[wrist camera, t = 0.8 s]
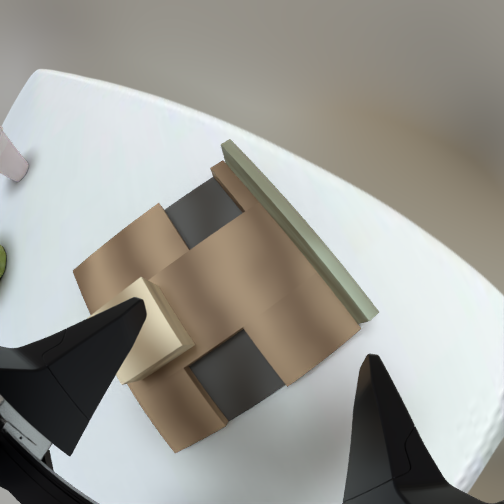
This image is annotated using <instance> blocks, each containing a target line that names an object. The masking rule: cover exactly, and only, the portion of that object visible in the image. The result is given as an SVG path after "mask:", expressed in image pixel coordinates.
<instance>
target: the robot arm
mask: <svg viewBox="0 0 504 504" xmlns="http://www.w3.org/2000/svg"><path fill="white" fill-rule="evenodd" d="M146 317H147V312H146V307H145V303H144V300H143V299H141V298H138V297H133V298H130V299H128V300H126V301H124V302H122V303H120V304H118V305H115V306H113V307H111V308H109V309H107V310H105V311H103V312H100V313H98V314H96V315H94V316H92V317H90V318H88V319H86V320H83V321H81V322H79V323H77V324H75V325H73V326H71V327H69V328H67V329H64V330H62V331H60V332H58V333H56V334H53V335H51V336H49V337H46V338H44V339H41V340H39V341H36V342H33V343H30V344H28V345H25V346H22V347H19V348H6V347H1V346H0V487H2V488H4V489H6V490H8V491H9V492H10V493H11V494H12V495H13V496H14V497H15V498H16V499H17V500H18V501H19V502H20V503H21V504H99V503H97V502H95V501H94V500H92V499H91V498H89V497H88V496H86V495H85V494H83V493H82V492H81V491H79V490H78V489H76V488H75V487H73V486H72V485H71V484H69V483H68V482H67V481H65V480H64V479H63V478H61V477H60V476H59V475H58V474H56V473H55V472H54V470H53V466H52V461H51V456H50V450H48V449H49V448H50V446H51V445H52V443H53V444H54V445H55V446H56V447H58V448H59V449H60V450H62V451H63V452H64V453H66V454H67V455H68V456H71V455H72V453H73V451H74V449H75V447H76V445H77V443H78V441H79V440H80V438H81V436H82V434H83V432H84V430H85V428H86V427H87V425H88V423H89V420H90V419H91V417H92V415H93V414H94V412H95V410H96V408H97V407H98V405H99V403H100V401H101V399H102V398H103V396H104V394H105V393H106V391H107V389H108V387H109V386H110V384H111V382H112V380H113V379H114V377H115V375H116V374H117V372H118V370H119V369H120V367H121V365H122V364H123V362H124V360H125V359H126V357H127V355H128V354H129V352H130V350H131V349H132V347H133V345H134V343H135V341H136V339H137V337H138V335H139V333H140V330H141V328H142V326H143V324H144V322H145V320H146ZM414 426H415V425H414V423H413V421H412V419H411V417H410V415H409V413H408V410H407V408H406V406H405V404H404V402H403V400H402V398H401V397H400V395H399V393H398V391H397V389H396V387H395V385H394V383H393V381H392V379H391V377H390V375H389V373H388V372H387V370H386V368H385V366H384V364H383V362H382V360H381V359H380V357H379V356H378V355H376V354H368V355H367V356H366V358H365V360H364V362H363V363H362V365H361V367H360V371H359V377H358V383H357V389H356V395H355V401H354V408H353V421H352V434H351V445H350V454H349V463H348V471H347V478H346V485H345V492H344V498H343V503H342V504H489V503H485V502H482V501H480V500H478V499H476V498H474V497H472V496H470V495H468V494H467V493H465V492H463V491H461V490H459V489H457V488H455V487H453V486H452V485H450V484H449V483H448V482H447V481H446V480H445V478H444V477H443V475H442V474H441V472H440V470H439V469H438V467H437V465H436V464H435V462H434V460H433V459H432V457H431V455H430V454H429V452H428V450H427V448H426V447H425V445H424V443H423V441H422V439H421V437H420V435H419V433H418V431H417V429H416V427H414ZM490 504H491V503H490ZM493 504H504V500H503V501H500V502H497V503H493Z"/></svg>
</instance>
